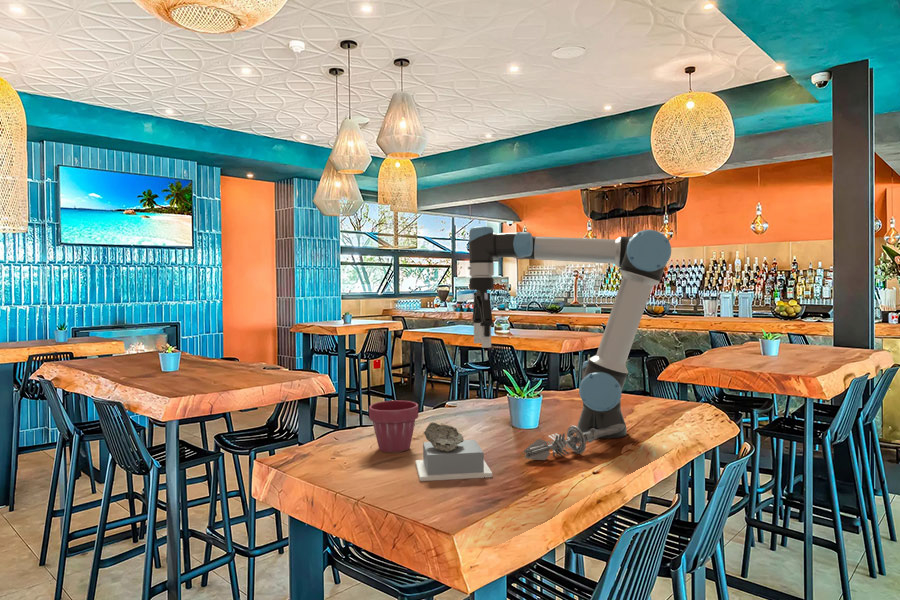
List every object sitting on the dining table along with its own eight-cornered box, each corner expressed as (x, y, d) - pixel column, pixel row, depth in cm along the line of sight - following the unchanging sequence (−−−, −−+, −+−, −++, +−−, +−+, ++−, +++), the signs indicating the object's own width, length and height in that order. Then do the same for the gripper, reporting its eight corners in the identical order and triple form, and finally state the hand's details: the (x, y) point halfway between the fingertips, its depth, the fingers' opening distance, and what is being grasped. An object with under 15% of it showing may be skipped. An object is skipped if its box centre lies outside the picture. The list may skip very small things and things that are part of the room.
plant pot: (376, 457, 163) (376, 411, 162) (364, 445, 176) (364, 402, 175) (425, 451, 168) (424, 407, 168) (410, 439, 181) (409, 398, 181)
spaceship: (636, 422, 167) (618, 407, 174) (534, 451, 152) (518, 433, 159) (631, 444, 170) (613, 429, 177) (530, 475, 155) (514, 457, 162)
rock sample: (429, 439, 143) (436, 409, 149) (416, 454, 148) (424, 424, 154) (468, 456, 144) (473, 425, 151) (454, 469, 150) (460, 440, 156)
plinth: (481, 460, 159) (481, 438, 159) (492, 477, 145) (492, 452, 145) (415, 463, 157) (415, 441, 156) (419, 481, 143) (419, 456, 143)
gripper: (463, 277, 194) (464, 341, 195) (476, 276, 169) (477, 349, 170) (485, 277, 195) (486, 341, 196) (502, 276, 170) (502, 349, 171)
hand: (482, 345), depth 183 cm, fingers open, 13 cm apart
